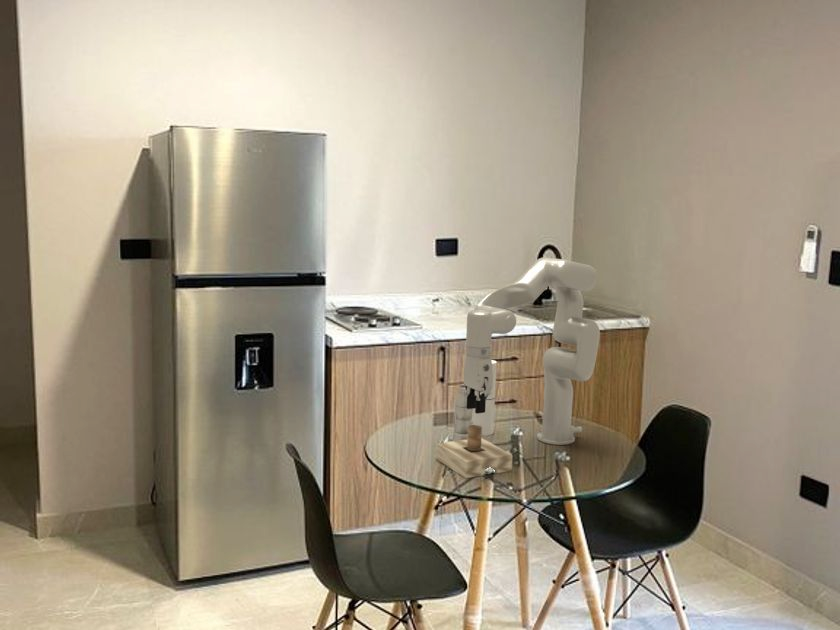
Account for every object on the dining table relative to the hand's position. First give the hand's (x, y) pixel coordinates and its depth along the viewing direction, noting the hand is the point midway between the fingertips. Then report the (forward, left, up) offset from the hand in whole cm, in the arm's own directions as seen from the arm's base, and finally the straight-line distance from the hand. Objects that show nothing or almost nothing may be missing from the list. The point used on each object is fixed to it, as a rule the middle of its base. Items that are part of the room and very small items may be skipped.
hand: (475, 410), depth 258 cm
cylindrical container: (-20, -27, -18) cm, 38 cm away
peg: (0, 0, -17) cm, 17 cm away
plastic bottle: (-6, -17, -18) cm, 25 cm away
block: (0, 0, -17) cm, 17 cm away
